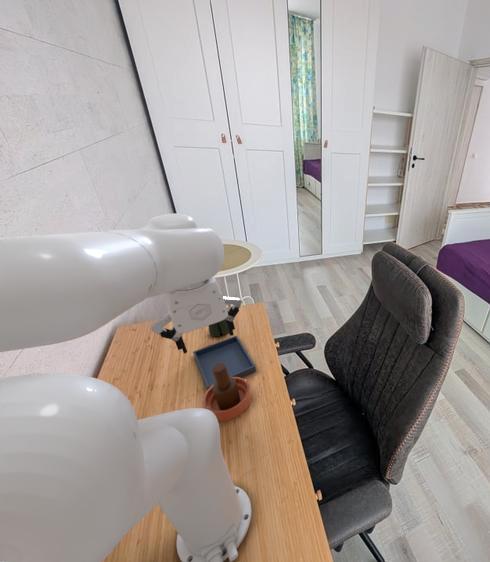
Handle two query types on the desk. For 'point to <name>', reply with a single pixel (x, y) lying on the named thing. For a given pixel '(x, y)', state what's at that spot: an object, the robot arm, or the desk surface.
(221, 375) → the bottle
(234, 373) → the tray
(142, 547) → the desk surface
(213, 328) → the character mug
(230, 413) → the bowl
